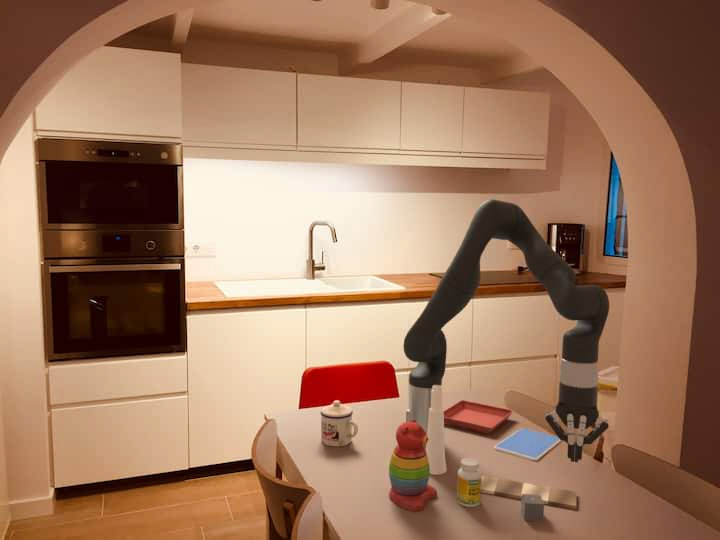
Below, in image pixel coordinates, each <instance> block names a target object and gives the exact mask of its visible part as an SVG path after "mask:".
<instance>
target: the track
mask: <svg viewBox="0 0 720 540" xmlns="http://www.w3.org/2000/svg"><path fill="white" fill-rule="evenodd" d="M482 493H484V494H489V495H494V496H498V497H505V498H510V499H516V500H521V499H522V494H531V495H540V496H541V498H542V500H543V503H544V505H550V506H556V507H560V508H566V509H571V510H577V491H573V490H569V489H561V488H555V487H549V486H545V485H539V484H532V483H527V482H520V481H514V480H511V479H510V480H509V479H503V478H497V477H492V476H486V475H481V494H482Z"/></svg>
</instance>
